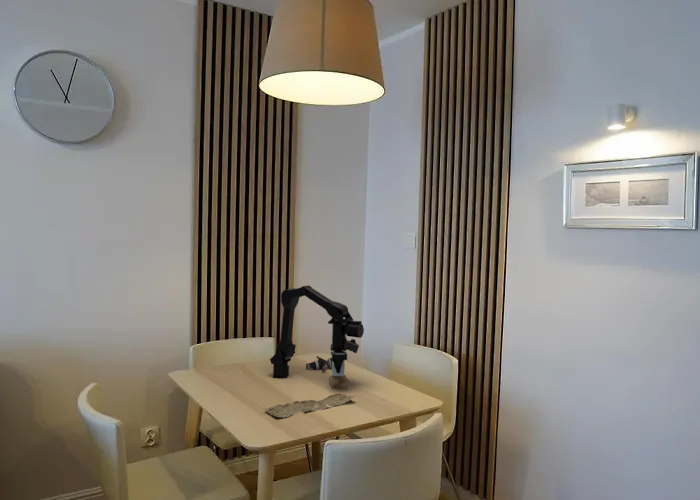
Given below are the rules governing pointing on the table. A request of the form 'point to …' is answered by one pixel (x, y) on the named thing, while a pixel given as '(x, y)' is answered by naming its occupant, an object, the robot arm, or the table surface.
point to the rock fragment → (307, 405)
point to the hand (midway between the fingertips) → (338, 371)
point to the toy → (320, 364)
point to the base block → (338, 382)
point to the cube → (340, 370)
